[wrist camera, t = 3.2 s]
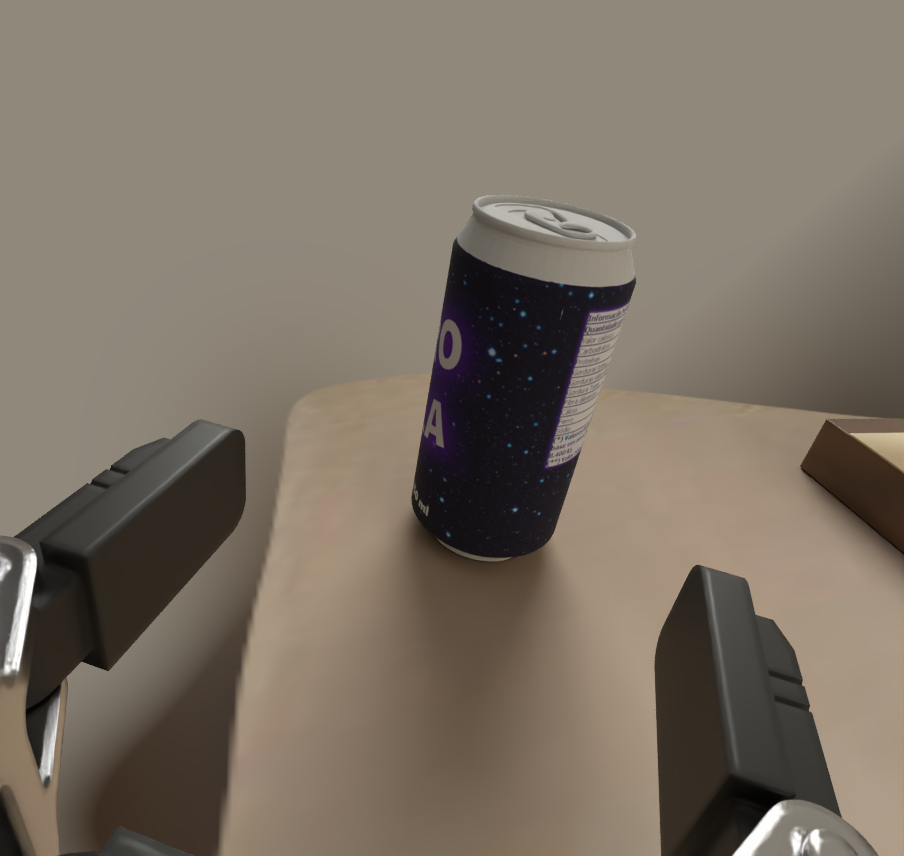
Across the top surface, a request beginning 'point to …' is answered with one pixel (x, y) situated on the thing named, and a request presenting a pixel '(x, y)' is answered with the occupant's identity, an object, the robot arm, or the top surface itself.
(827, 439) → the wooden serving tray
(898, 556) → the top surface
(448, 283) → the beverage can
